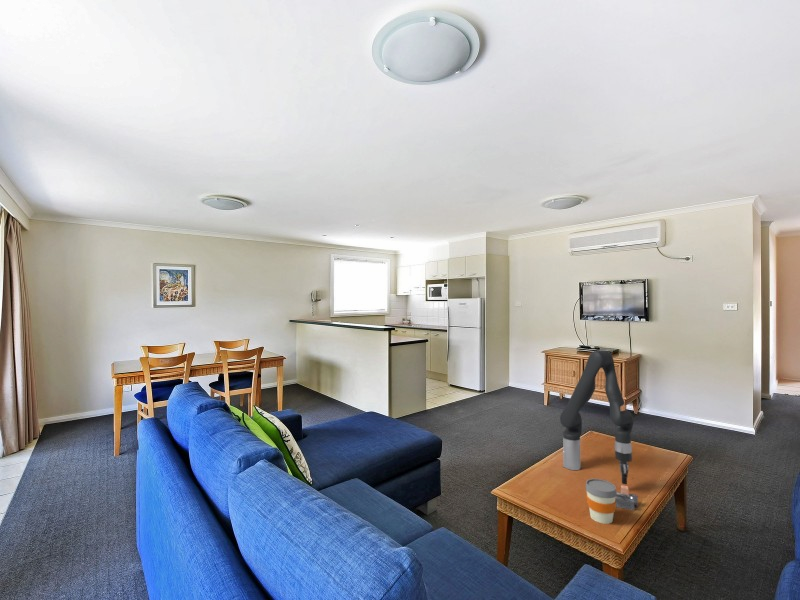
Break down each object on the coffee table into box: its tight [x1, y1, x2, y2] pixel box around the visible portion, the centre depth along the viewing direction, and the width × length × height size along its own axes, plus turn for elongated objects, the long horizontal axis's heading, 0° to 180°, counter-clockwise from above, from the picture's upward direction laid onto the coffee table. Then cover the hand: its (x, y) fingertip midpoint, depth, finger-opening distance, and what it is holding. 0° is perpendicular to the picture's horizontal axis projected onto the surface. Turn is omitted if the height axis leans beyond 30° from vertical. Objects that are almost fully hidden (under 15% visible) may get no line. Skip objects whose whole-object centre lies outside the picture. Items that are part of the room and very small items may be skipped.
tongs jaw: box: [615, 497, 635, 511], centre depth 182 cm, size 15×3×4 cm, turn 63°
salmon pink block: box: [620, 484, 630, 495], centre depth 189 cm, size 3×3×5 cm
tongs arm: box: [616, 492, 639, 508], centre depth 185 cm, size 17×4×5 cm, turn 58°
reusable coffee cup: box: [585, 478, 618, 525], centre depth 172 cm, size 13×13×15 cm
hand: (624, 483), depth 196 cm, fingers closed
